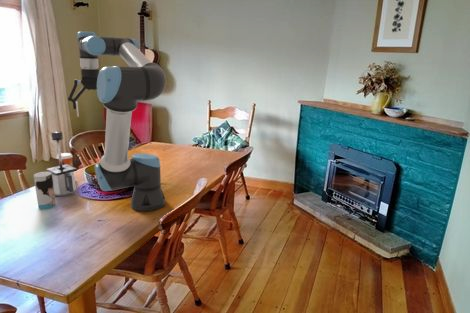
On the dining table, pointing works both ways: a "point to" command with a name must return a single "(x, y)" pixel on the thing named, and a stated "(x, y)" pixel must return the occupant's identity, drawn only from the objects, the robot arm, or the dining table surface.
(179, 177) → the dining table surface
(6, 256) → the dining table surface
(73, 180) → the lidded canister
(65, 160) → the paper cup
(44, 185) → the cup
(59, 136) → the plunger
